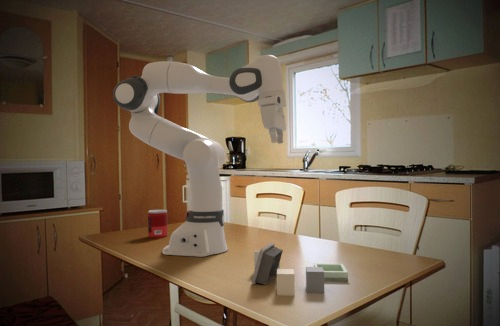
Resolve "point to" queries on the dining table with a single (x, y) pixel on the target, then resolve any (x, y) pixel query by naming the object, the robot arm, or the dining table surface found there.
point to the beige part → (285, 282)
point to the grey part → (315, 280)
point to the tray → (334, 272)
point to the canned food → (157, 223)
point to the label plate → (257, 258)
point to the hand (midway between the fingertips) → (277, 143)
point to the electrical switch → (267, 264)
